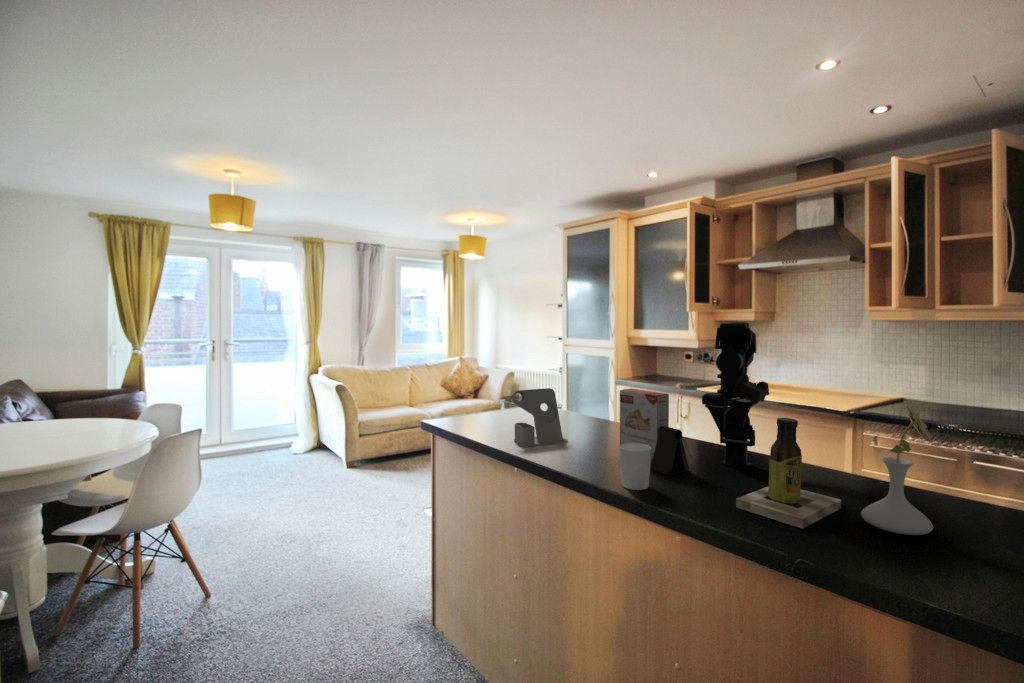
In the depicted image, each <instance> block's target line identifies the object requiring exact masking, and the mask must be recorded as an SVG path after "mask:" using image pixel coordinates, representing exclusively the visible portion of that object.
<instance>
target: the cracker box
mask: <svg viewBox="0 0 1024 683" xmlns="http://www.w3.org/2000/svg"><path fill="white" fill-rule="evenodd" d="M669 399H670V393H665V392H658V391H651V390H645V389H638V388H624V389H620V390H619V446H620V445H621V444H626V443H638V444H644V445H648V446H650V447H651V463H650V466H651V464H652V460H653V456H654V452H655V448H656V444H657V440H658V429H659V427H660V426H662V427H663V426H666V427H670V425H669V424H670V423H669V420H670V418H669V416H670V415H669V414H670V400H669Z"/></svg>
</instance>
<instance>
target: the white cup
mask: <svg viewBox="0 0 1024 683" xmlns="http://www.w3.org/2000/svg"><path fill="white" fill-rule="evenodd" d="M618 448H619V450H618V451H619V452H618V453H619V470H620V472H619V473H620V479H621V480H620V485H621V486H622V487H623V488H625V489H628V490H632V491H642V490H647V489H648V488H650V475H651V470H650V468H651V465H650V463H651V447H650V446H648V445H644V444H638V443H626V444H621V445H620V444H619V445H618Z"/></svg>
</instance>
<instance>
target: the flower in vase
mask: <svg viewBox="0 0 1024 683" xmlns="http://www.w3.org/2000/svg"><path fill="white" fill-rule="evenodd" d="M905 411H906V414H907V416H908V418H909V419H910V423H909V425H908V426H907V427H906V428H905V430H904V431H903V433H902V435H901V437H900V440H899V443H898V444H896V445H895V446H894V447H893V448H892V449H890V450H889V452H892V453H895V454H897V455H896V457H893V456H891V457H890V456H885V457H882V458H881V460H882V461H883V463H884V464H885V466H886V468H887V471H888V477H889V488H888V489H889V490H888V493H887V495H886V496H885V497H884V498H882V499H879V500H877V501H875V502H873V503H870V504H869V505H867V506H866V507H864V508H862V510H861V512H860V516H861V518H862V519H863V520H864V521H865V522H866V523H867V524H870V525H871V526H874V527H876V528H878V529H880V530H883V531H887V532H889V533H893V534H897V535H898V534H900V535H908V536H921V535H928V534H930V533H931V532H932V531H933V529H934V526H933V523H932V521H930V519H929V518H928V517H927V516H926V515H925V514H923V513H922V512H921V511H920V510H919V509H917V508H916V507H915V506H914V505H912V504H911V502H909V500H907V497H906V495H905V480H906V477H907V472H908V471H909V469H910V468H911V466H913V465H914V462H913V461H912V460H909V459H906V458H901V457H900V454H901V453H904V452H907V453H909V452H911V450H912V448H911V446H910V444H909V442H908V441H907V440H906V439H904V438H905V436H906V435H907V433H908V431H909V430H910V428H911V427H914V428H915V430H916V431H917V432H918V434H919V435H920V437H921V438H922V439H924V440H925V441H927V442H931V441H932V434H931V433H930V432H929V431H928V430H927V428H928V426H927V424H926V423H925V422H923V420H922V418H921V415H920V413H919V411H916V412H915V409H914V406H913V405H912V404H911V403H906V404H905Z"/></svg>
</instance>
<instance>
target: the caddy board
mask: <svg viewBox="0 0 1024 683" xmlns="http://www.w3.org/2000/svg"><path fill="white" fill-rule="evenodd" d="M768 489H769V485H768V486H766V487H762V488H760V489H757V490H755V491H753V492H750V493H747V494H744V495H743V496H738V497H737V498H736V499H735V508H737V509H739V510H740V509H741V510H744V511H746V512H750V513H753V514H755V515H756V514H757V515H758V516H762V517H765V518H768V519H772V520H773V521H774V520H775V521H778V522H781V523H783V524H786V525H790V526H792V527H797V528H798V529H799V528H800V529H805V528H807V527H808V526H810V525H812V524H815V523H816V522H818V521H820V520H822V519H824V518H826V517H828V516H829V515H831V514H833V513H836V512H837V511H839V510H841V509H842V499H840V498H837V497H832V496H828V495H825V494H821V493H817V492H813V491H809V490H806V489H805V490H804V489H802V488H801V492H800V502H799V508H796V507H792V506H789V505H786V504H782V503H779V502H775V501H772V500H769V497H768Z"/></svg>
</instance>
